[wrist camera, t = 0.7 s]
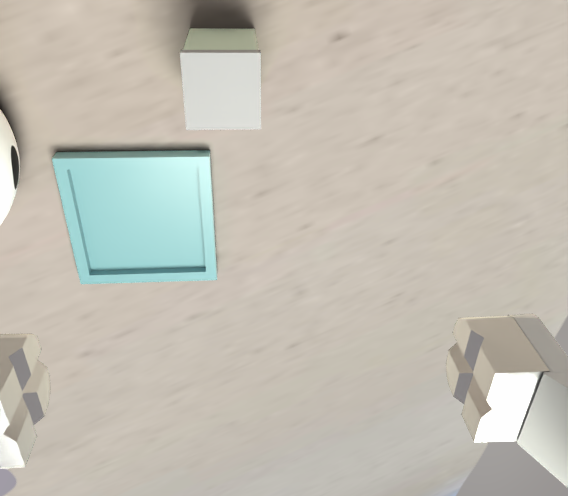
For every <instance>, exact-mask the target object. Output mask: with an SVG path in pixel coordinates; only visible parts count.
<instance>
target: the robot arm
mask: <svg viewBox="0 0 568 496" xmlns="http://www.w3.org/2000/svg"><path fill="white" fill-rule="evenodd" d="M453 335H454V337H455V339H456V341H457V343H456V344H455V345H454V346H452V347H451V348H450V349H449V350H448V355H447V360H446V375H447V380H448V384H449V387H450V390H451V392H452V394H453V396H454V397H455V398H456V399H458V400H459V401H460V402H462V403H463V404H464V406H463V410H462V414H461V415H462V417H463V419H464V421H465V423H466V426H467V428H468V430H469V432H470V434H471V437H472V439H473V441H474V442H498V441H518V442H517V443H518V444H519V445H520V446H521V447H522V448H523V449H524V450H525V451H527V452H528V453H529V454H530V455H531V456H532V457H533V458H534V459H536V460H537V461H538V462H539V463H540V464H541V465H542V466H544V467H545V468H546V469H547V470H549V472H550V473H552V474H553V475H554V476H555V477H556V478H557V479H558V480H560V481H561V482H562V483H563V484H564V485H565V486H567V488H568V356H567V355H566V353H565V352H564V351H563V349H562V348H561V347H560V345H559V344H558V343H557V341H556V340H555V339H554V337H553V336H552V335H551V333H550V332H549V331H548V329H547V328H546V327H545V325H544V324H543V323H542V321H541V320H540V319H539V317H537V316H536V315H534V314H520V315H508V316H490V317H467V318H458V320H457V321H456V323H455V326H454V330H453ZM41 350H42V349H41V346H40V343H39V340H38V337H37V336H36V335H34V334H0V469H4V468H16V467H26V464H27V461H28V459H29V456H30V453H31V451H32V448H33V445H34V443H35V440H36V437H37V434H36V431H35V428H34V424H36V423H37V422H38V421H39V420H40V419H42V418H43V417H44V416H45V413H46V410H47V407H48V404H49V398H50V390H51V386H50V376H49V372H48V369H47V367H46V366H45V365H44V364H43V363H41V362H40V361H39V360H38V357H39V355H40V353H41Z"/></svg>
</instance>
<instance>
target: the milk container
mask: <svg viewBox="0 0 568 496" xmlns="http://www.w3.org/2000/svg"><path fill="white" fill-rule="evenodd" d="M19 176H20V158H19V152H18V147H17V143H16V140H15V137H14V135H13V132H12V130H11V127H10V125H9V123H8V121H7V119H6V117H5V116H4V114H3V113H2V111H1V110H0V225H1V223H2V222H3V220H4V219H5V217H6V216H7V214H8V212H9V210H10V208H11V206H12V203H13V201H14V198H15V195H16V191H17V187H18V182H19Z"/></svg>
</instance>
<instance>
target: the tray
mask: <svg viewBox="0 0 568 496" xmlns="http://www.w3.org/2000/svg"><path fill="white" fill-rule="evenodd" d="M52 161H53V166H54V170H55V174H56V179H57V183H58V187H59V192H60V196H61V200H62V205H63V209H64V213H65V218H66V222H67V226H68V231H69V235H70V239H71V244H72V248H73V252H74V257H75V261H76V265H77V270H78V274H79V278H80V283H81V284H101V283H134V282H167V281H199V280H217V260H216V243H215V226H214V209H213V192H212V175H211V158H210V150H182V151H102V152H56V154H55V155H54V156H53V158H52Z"/></svg>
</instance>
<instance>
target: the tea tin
mask: <svg viewBox="0 0 568 496" xmlns="http://www.w3.org/2000/svg"><path fill="white" fill-rule="evenodd" d="M180 61H181V73H182V85H183V97H184V109H185V121H186V130H240V129H261V52H260V50H258V45H257V39H256V32H255V29H212V28H190V30H189V33H188V36H187V39H186V42H185V45H184V48H183V50H181V51H180Z"/></svg>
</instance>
